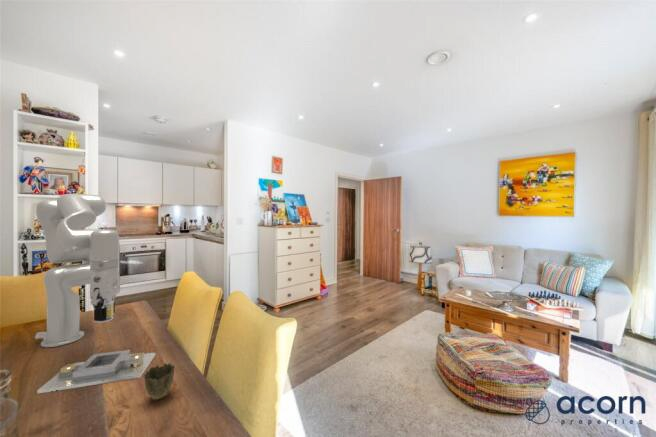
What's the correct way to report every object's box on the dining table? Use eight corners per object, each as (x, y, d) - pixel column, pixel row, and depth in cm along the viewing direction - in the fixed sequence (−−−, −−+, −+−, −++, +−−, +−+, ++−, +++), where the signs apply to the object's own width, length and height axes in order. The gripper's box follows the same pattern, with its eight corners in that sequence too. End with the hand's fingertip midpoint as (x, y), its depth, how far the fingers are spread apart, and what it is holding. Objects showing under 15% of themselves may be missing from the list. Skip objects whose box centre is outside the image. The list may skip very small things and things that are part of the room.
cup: (141, 410, 68) (141, 381, 68) (146, 393, 75) (146, 366, 75) (173, 401, 72) (173, 373, 72) (175, 385, 78) (175, 360, 78)
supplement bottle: (103, 317, 89) (103, 294, 89) (117, 317, 90) (117, 294, 90) (91, 323, 85) (91, 298, 85) (106, 322, 85) (106, 298, 85)
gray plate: (37, 393, 74) (37, 379, 74) (69, 366, 87) (69, 354, 87) (140, 377, 82) (140, 364, 82) (155, 355, 95) (155, 344, 95)
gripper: (105, 269, 80) (104, 325, 80) (128, 260, 97) (128, 307, 96) (75, 270, 78) (75, 328, 78) (104, 261, 94) (104, 309, 94)
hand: (104, 316), depth 87 cm, fingers closed on supplement bottle, 4 cm apart
